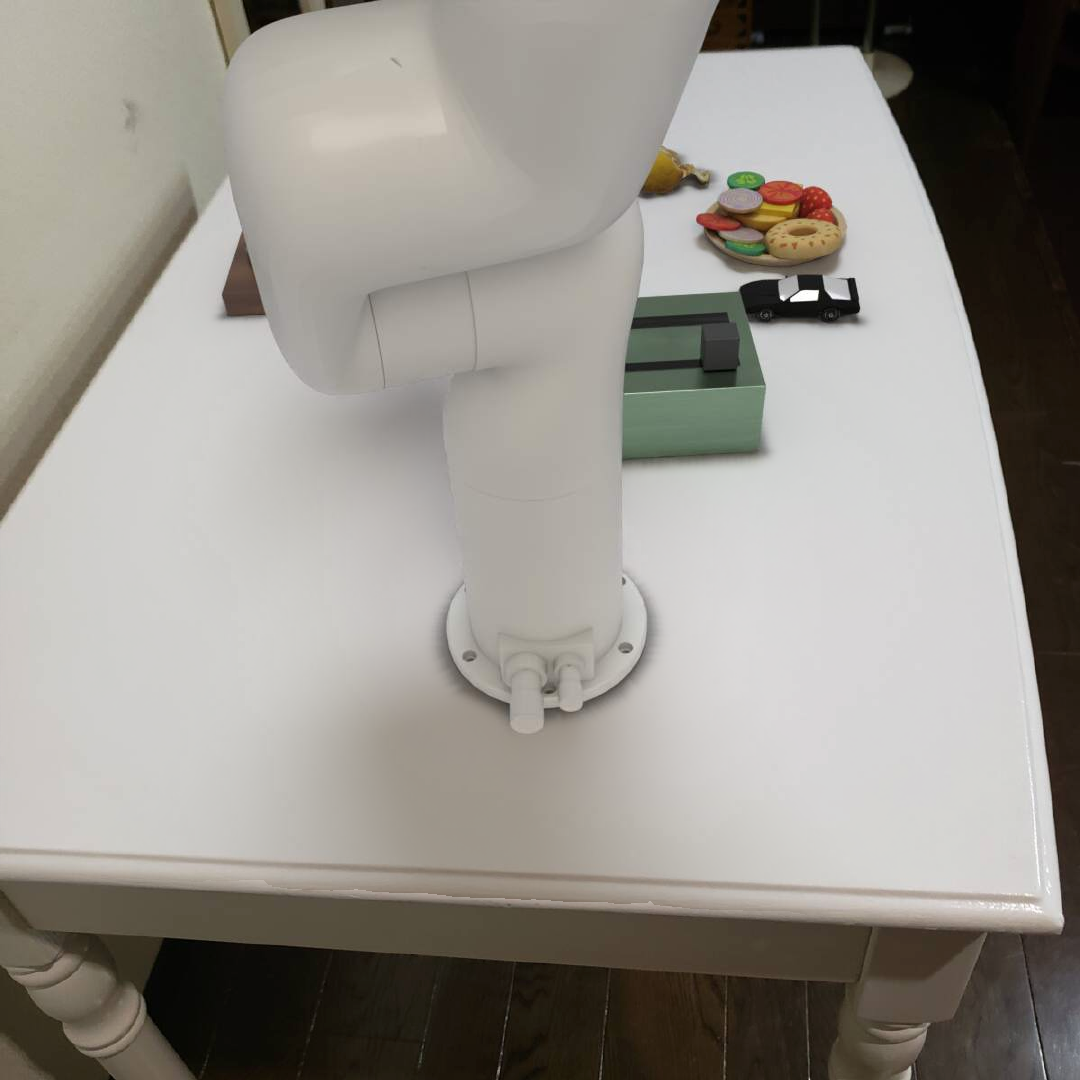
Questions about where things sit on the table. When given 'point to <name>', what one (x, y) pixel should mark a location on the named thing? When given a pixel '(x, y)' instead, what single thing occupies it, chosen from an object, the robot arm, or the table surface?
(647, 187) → the golden rounded piece
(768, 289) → the toy car
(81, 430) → the table surface
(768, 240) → the toy food set
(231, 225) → the table surface
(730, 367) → the slider
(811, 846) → the table surface
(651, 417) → the toaster
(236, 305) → the control block
